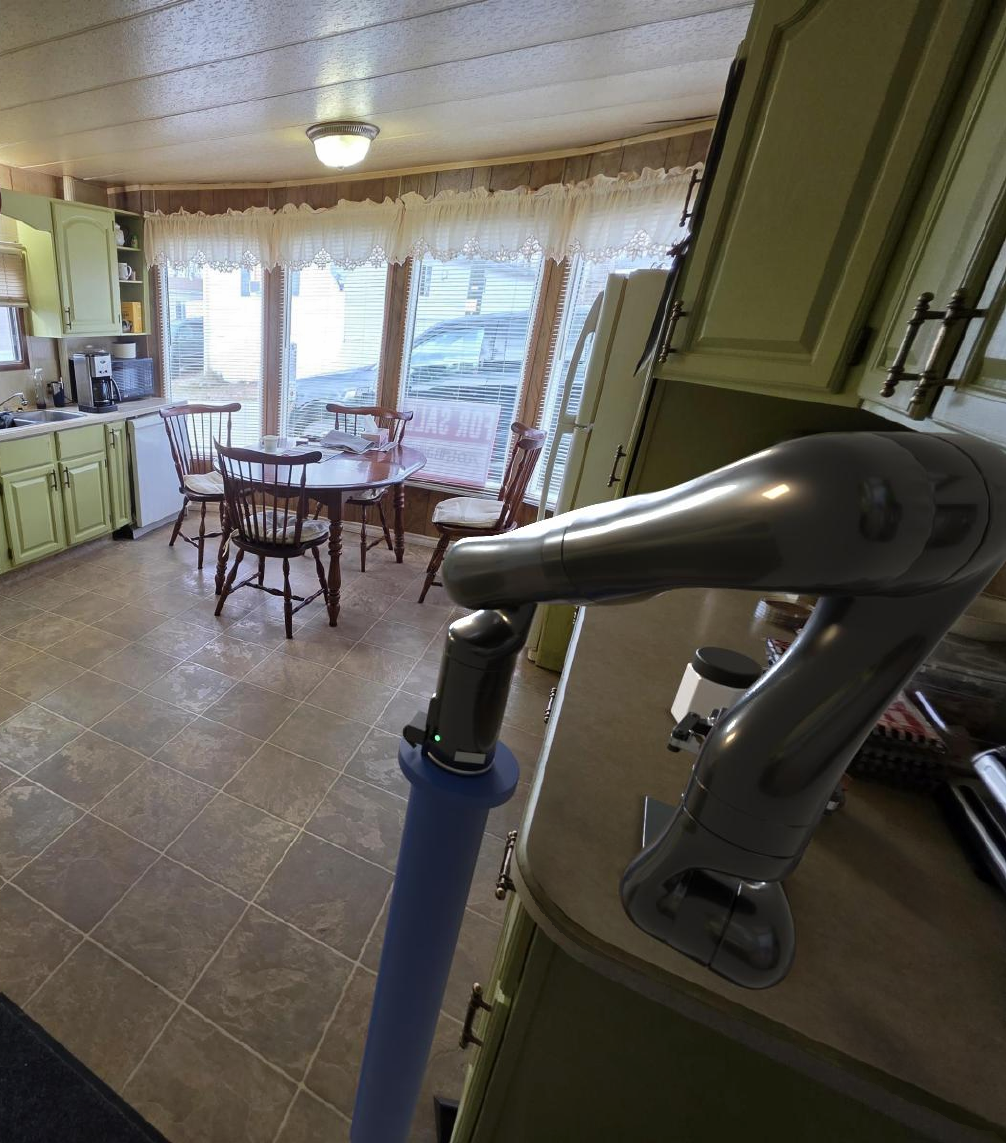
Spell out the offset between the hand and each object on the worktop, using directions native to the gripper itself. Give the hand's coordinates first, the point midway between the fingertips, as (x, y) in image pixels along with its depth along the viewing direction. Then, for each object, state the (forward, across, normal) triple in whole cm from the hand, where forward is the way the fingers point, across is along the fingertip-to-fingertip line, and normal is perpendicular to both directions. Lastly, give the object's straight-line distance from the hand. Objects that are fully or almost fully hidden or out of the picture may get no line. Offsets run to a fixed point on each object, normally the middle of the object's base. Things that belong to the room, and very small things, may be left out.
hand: (760, 728), depth 68 cm
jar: (+27, +6, +17) cm, 33 cm away
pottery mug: (+17, -7, +17) cm, 25 cm away
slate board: (-3, 0, +17) cm, 17 cm away
